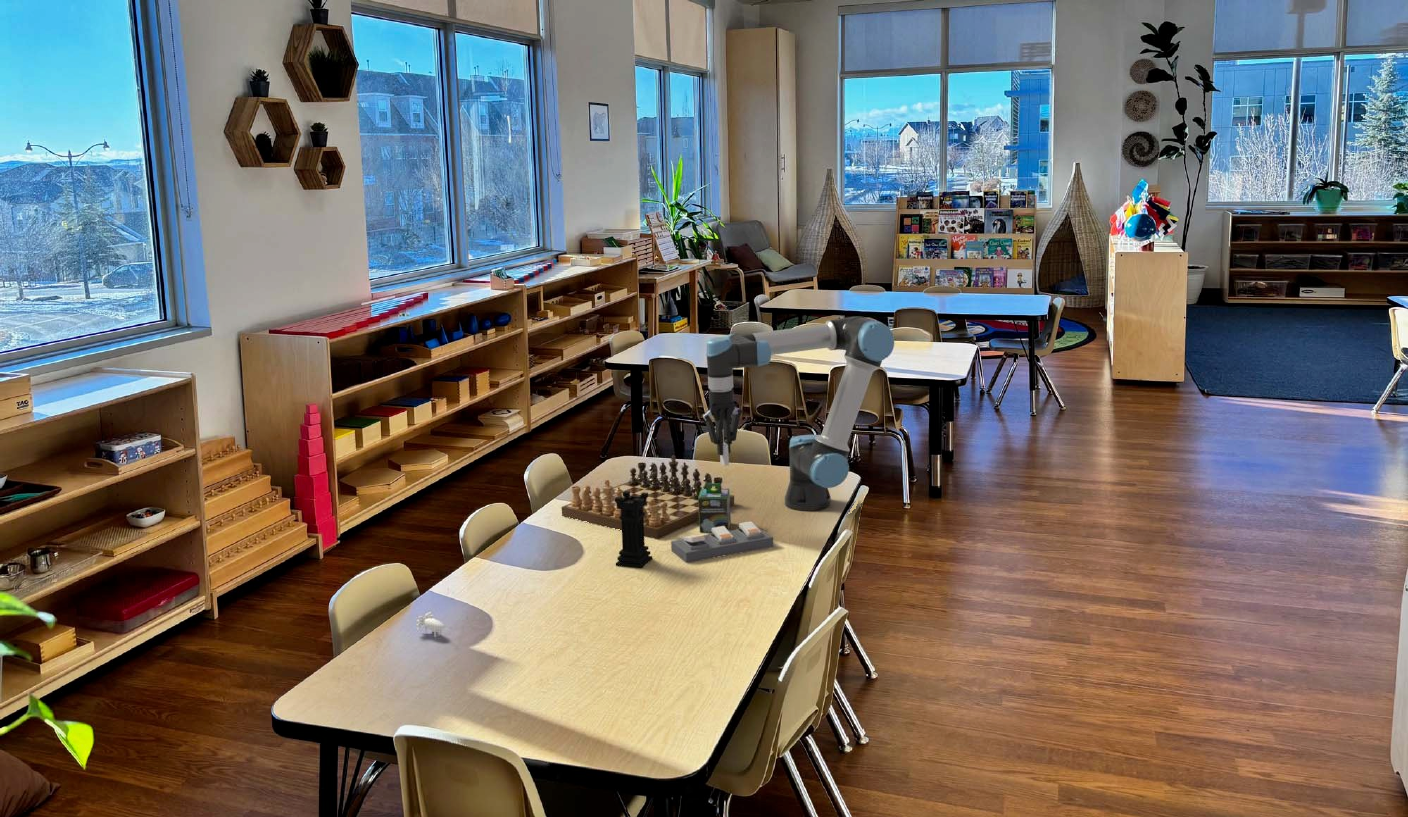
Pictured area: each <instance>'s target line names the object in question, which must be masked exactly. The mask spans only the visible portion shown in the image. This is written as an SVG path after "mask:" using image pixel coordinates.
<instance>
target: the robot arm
mask: <svg viewBox="0 0 1408 817" xmlns="http://www.w3.org/2000/svg"><path fill="white" fill-rule="evenodd" d="M894 347H895V336H894V334H893V332H892V330H891V328H890V327H889V326H887V324H884V323H883V322H881V321H879V320H874V319H871V318H868V317H864V316H850V317H843V318H837V319H831V320H826V321H825V323H824V324H819V325H818V324H817V325H816V324H815V325H810V326H801V327H794V328H785V329H779V330H778V329H777V330H770V331H762V332H755V333H747V334H739V333H730V334H728V335H727V336H724V337H723V336H722V337H713V338H709V339H708V340H707V342H706V350H705V351H706V353H705V355H706V364H707V365H706V366H707V383H708V384H707V385H708V386H707V388H708V389H709V391H708V402H709V407H708V411H707V412H706V413H702V415H701V417H702V419H703V420H704V422H705V426H706V428H707V432H708V435H709V439H710V442H711V443H713V444H714V445H717V446H716V448H717V454H718V455H719V456H720V457H719V459H720V462H719V463H720V465H721V466H724V467H726V466H729V465H730V460H729V454H731V451H732V450H731V445H732V444H733V442H734V441H736V440H737V435H738V429H739V422H740V417H741V415H742V413H743V410H742V409H741V408H738V407H737V406H736V404H735V403H734V401H735V396H734V394H735V392H734V391H735V390H734V389H733V388H734V372H733V371H734V369H741V368H751V367H761V366H765V365H768V364H770V362H771V359H772V356H776V355H782V354H790V353H797V352H805V351H812V350H813V351H814V350H821V349H828V350H829V351H839V350H840V351H845V353H844V356H843V357H844V359H845V361H846V364H845V367H844V370H843V372H842V376H841V379H840V381H839V385H838V387H837V388H836V392H835V395H834V398H833V401H832V403H831V406H830V409H829V413H828V415H827V418H826V421H825V423H824V426H823V429H822V432H821V434H804V435H802V434H801V435H796V436H792V437H791V438H790V440H789V446H788V449H789V483H788V486H787V489H786V491H785V492H786V493H785V495H784V505H785V507H787V508H789V509H792V510H796V509H798V511H806V510H809V511H811V512H812V511H819V510H824V509H827V508H829V507H830V506H831V505H832V504H831V500H832V497H831V494H830V491H829V489H831V488H835V487H838V486H839V485H841V484H842V483H843V482H844V481H845V480H846V479H847V477H848V475H849V471H850V465H849V462H848V456H849V453H850V450H851V449H850V448H849V445H848V443H849V439H850V436H851V433H852V432H853V428H854V425H855V423H856V420H857V417H858V414H859V411H860V409H861V406H862V403H863V401H864V397H865V395H866V393H867V389H868V387H869V384H870V381H871V378H872V376H873V373H874V372H876V371H877V370H879V369H880V367H881V364H882V362H883V361H884V360H886V358H888V357H889V356H890V355H892V352H893V350H894ZM712 418H713V419H714V422H713V420H712ZM714 423H715V426H714ZM809 511H808V512H809Z"/></svg>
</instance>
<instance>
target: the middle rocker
mask: <svg viewBox="0 0 1408 817" xmlns="http://www.w3.org/2000/svg"><path fill="white" fill-rule="evenodd" d="M711 531H712V532H711V533H714V535H715V536H716V537H717V538H718V539H719V541H720V542H721V541H726V540H732V539H733V536H732V535H731V533H730V532H729V531H730V530H729V531H728V530H727V529H726V528H725V527H724V526H720V527H715V528H712V530H711Z"/></svg>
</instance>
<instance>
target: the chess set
mask: <svg viewBox="0 0 1408 817" xmlns="http://www.w3.org/2000/svg"><path fill="white" fill-rule="evenodd" d="M668 465H669V467H670V468H669V470H668V472H669V473H671V475H670V477H669V475H668V474H667V473H668V472H667V468H668V467H667V465H666V464H665V462H663V461H662V462H661V464H660V466H659V468H658V466H657V464H656V463H655V462H651V464H650V467H649V469H648V471H649V472H650V474H649V476H648V471H647V470H646V468H647V463H646V462H638V463H637V468H638V469H639V470H638V472H639V473H638V475H637V469H636V468H635V467H632V468H630V469H629V470H630V471H629V472H630V477H631V478H630V479H629V480H628V481H627V482H624V483H622V484H619V485H617V486H614V487H613V486H612V485H611V482H610V480H609V479H605V481H604V486H602V491H601V489H600V488H599V487H597V486H595V487H594V489H593V491H591V486H590V485H588V484H587V485H584V487H583V490H582V494H581V497H580V492H581V486H578V485H575V486H572V487H571V493H572V499H571V502H570V503H569V504H566V505H562V506H561V517H562V516H564V517H563V518H567V517H570V518H569V519H571V518H573V519H572V520H575V519H578V520H577V521H579V520H581V521H580V522H583V521H587V522H589V523H588V524H591V523H592V525H595V524H597V526H600V525H601V527H604V526H607V527H606V528H608V527H609V529H612V528H615V529H614V530H616V529H620V530H622V524H621V519H619V517H620V516H621V509H617V503H616V502H615V498H616V497H622V498H623V492H624V491H630V496H639V497H641V493H643V492H645V493H648V497H647V504H646V505H645V506H643V512H645V516H644V538H650V539H653V538H654V539H653V540H660V539H661V538H664V537H666V536H669V535H670V534H673V533H675V532H677V531H680V530H681V529H684V528H687V527H689V526H691V525H693V524H695V523H699V505H698V497H699V495H700V491H701V490H702V489H706V484H707V483H720V484H721V485H722V483H723V477H721V476H720V477H718V476H716V477H713V479H712V475H711V474H710V473H709V472H708V473H707V472H706V474H705V475H704V478H703V482H705V483H704V486H702V484H703V483H702V481H701V478H700V476H701V473H700V471H699V469H698V468H694V471H693V473H692V477H693V479H692V481H693V482H694V483H693V485H691V480H690V479H689V478H688V475H689V474H690V472H689V471H688V469H689V467H690V466H689V465H687V463H686V462H685V461H684V462H683V464H682V465H681V466H680V469H681V472H680V475H681V476H682V481H680V480H679V479H680V478H679V477H678V475H677V473H678V472H679V469H678V465H679V461H677V458H676V456H675V455H671V458H670V461H669V462H668ZM658 469H659V472H658ZM658 473H659V475H660V478H658ZM710 489H713V486H712V487H711V488H710ZM714 489H717V487H715V486H714ZM721 489H723V488H722V487H721ZM591 494H592V495H591ZM732 505H733V506H735V495H733V494H730V508H731V507H733V506H732ZM587 522H586V523H587ZM620 530H619V531H620Z"/></svg>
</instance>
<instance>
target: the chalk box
mask: <svg viewBox="0 0 1408 817" xmlns="http://www.w3.org/2000/svg"><path fill="white" fill-rule="evenodd" d="M711 487H712V488H711ZM713 487H714V488H713ZM715 487H717V489H715ZM710 488H711V489H710ZM721 488H722V483H721V484H720V483H714V482H712V483H707V484H706V489H704V488H702V490H701V491H700V495H699V497H698V505H699V521H698V523H699V524H698V525H699V533H713V532H712V531H711V530H712V528H715V527H720V526H724V527H725V528H726V529H727V530H728V531H730V529H731V528H730V527H731V523H732V519H731V516H732V515H731V507H730V495H731V494H730V488H722V489H721Z"/></svg>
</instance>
